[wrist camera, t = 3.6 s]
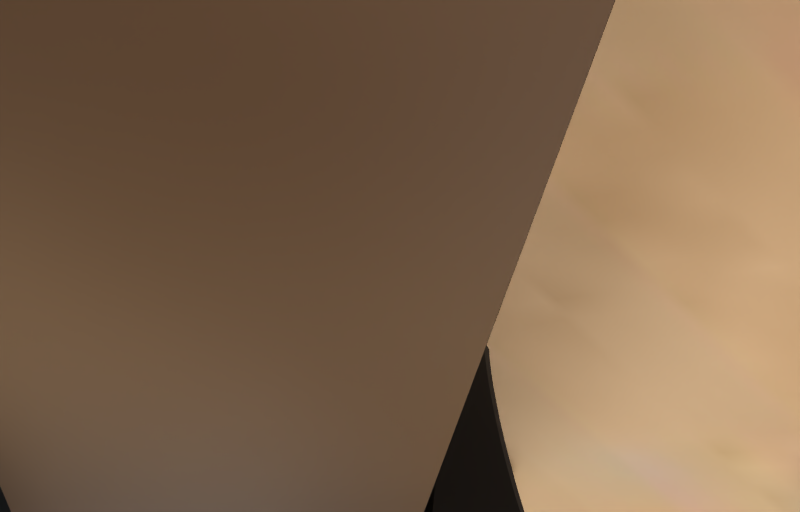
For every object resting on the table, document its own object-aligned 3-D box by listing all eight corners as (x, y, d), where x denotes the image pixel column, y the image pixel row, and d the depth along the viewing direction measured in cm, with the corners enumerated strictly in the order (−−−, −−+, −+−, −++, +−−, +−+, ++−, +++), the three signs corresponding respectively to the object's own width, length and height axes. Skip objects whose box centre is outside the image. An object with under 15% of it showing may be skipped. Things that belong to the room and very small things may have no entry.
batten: (384, 515, 15) (316, 800, 11) (232, 470, 15) (103, 731, 11) (584, -153, 7) (651, -96, 2) (234, -231, 7) (-342, -323, 2)
